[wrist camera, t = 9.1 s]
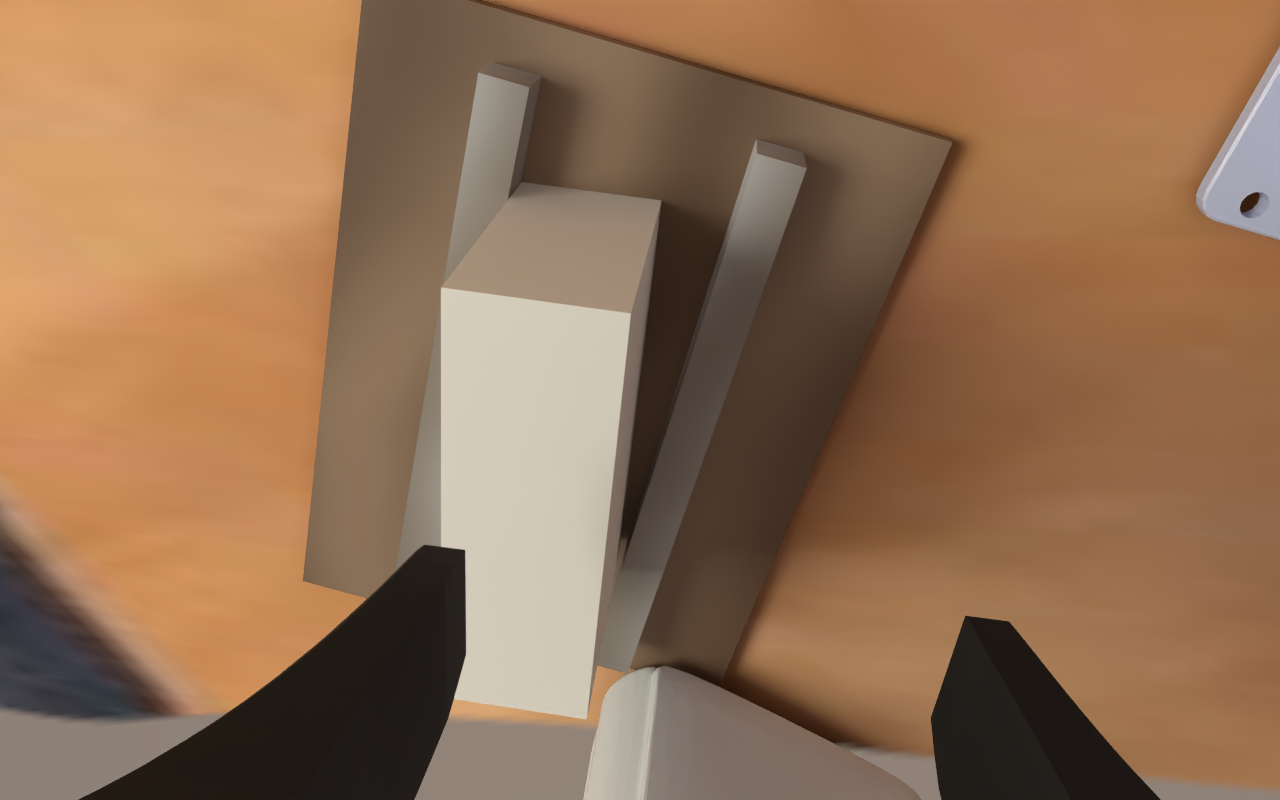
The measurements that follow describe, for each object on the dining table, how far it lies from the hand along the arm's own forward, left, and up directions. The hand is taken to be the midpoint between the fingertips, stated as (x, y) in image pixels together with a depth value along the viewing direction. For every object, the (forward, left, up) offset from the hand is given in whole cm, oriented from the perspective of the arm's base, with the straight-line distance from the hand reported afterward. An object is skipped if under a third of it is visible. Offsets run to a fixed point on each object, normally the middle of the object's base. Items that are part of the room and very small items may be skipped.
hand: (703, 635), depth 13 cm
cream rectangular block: (+3, +1, -9) cm, 10 cm away
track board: (+3, +2, -9) cm, 10 cm away
